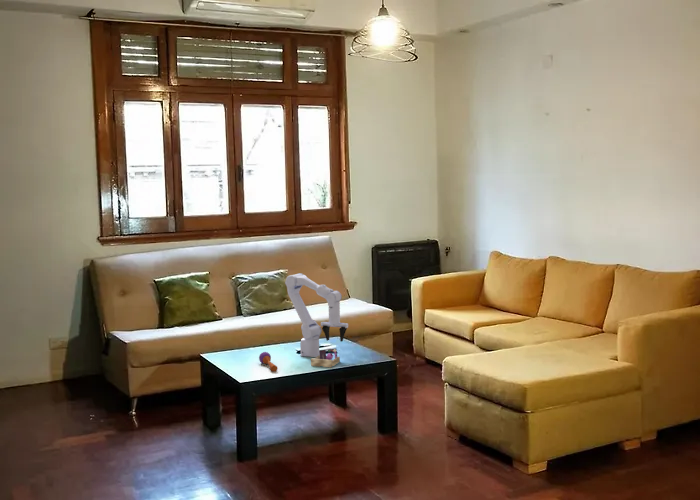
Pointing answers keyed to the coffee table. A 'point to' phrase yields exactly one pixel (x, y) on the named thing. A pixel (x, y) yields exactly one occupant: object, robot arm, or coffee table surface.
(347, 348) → the coffee table surface
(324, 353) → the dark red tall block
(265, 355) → the kendama
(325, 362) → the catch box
